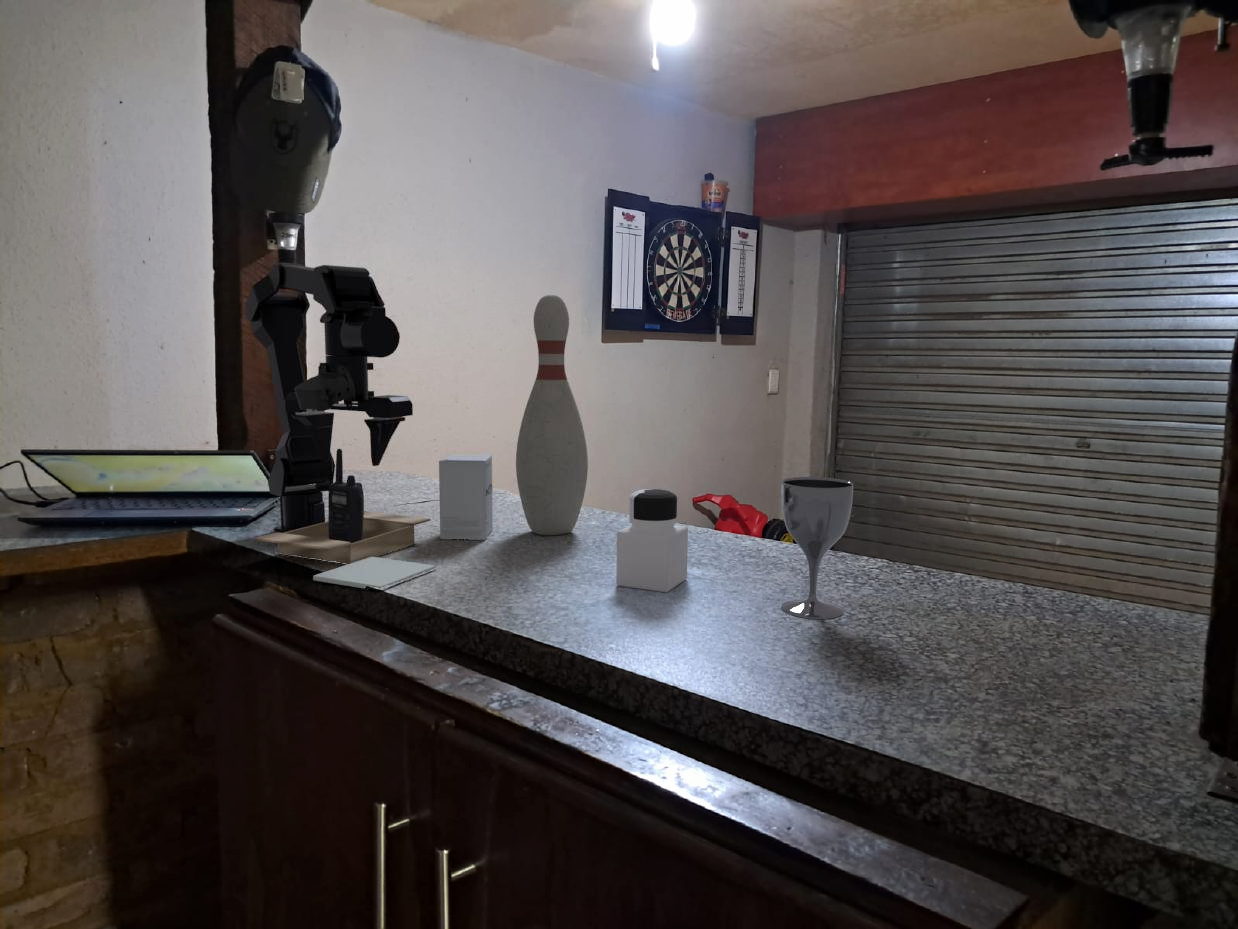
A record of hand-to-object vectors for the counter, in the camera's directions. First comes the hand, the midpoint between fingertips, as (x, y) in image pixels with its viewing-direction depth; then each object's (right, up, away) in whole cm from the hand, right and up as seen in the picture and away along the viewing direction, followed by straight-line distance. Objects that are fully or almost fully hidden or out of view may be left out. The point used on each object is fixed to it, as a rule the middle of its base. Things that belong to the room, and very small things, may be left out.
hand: (349, 463), depth 122 cm
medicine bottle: (+44, -16, -14) cm, 48 cm away
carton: (-1, -13, +2) cm, 13 cm away
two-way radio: (-1, -13, +2) cm, 13 cm away
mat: (+7, -15, -12) cm, 20 cm away
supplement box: (+15, -12, +12) cm, 22 cm away
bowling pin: (+28, -11, +15) cm, 34 cm away
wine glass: (+62, -17, -25) cm, 69 cm away
